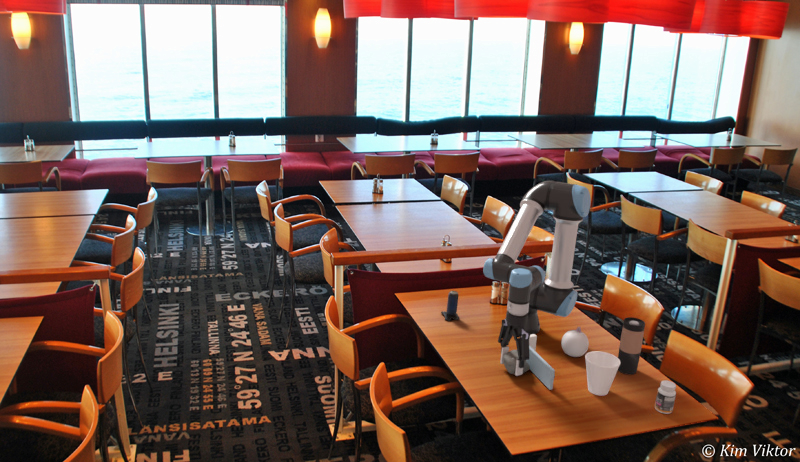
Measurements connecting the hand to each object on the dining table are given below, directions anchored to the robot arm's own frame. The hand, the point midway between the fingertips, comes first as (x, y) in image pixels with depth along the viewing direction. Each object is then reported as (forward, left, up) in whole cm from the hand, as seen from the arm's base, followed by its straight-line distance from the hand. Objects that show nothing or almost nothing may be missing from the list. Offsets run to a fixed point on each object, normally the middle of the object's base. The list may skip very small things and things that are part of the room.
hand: (511, 368), depth 229 cm
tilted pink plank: (-13, -7, -2) cm, 15 cm away
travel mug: (-43, +14, -2) cm, 46 cm away
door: (-9, +4, -2) cm, 10 cm away
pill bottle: (-34, +40, -2) cm, 52 cm away
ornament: (-32, -3, -2) cm, 32 cm away
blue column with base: (-5, -52, -2) cm, 52 cm away
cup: (-22, +21, -2) cm, 31 cm away
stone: (-3, -1, -1) cm, 3 cm away
